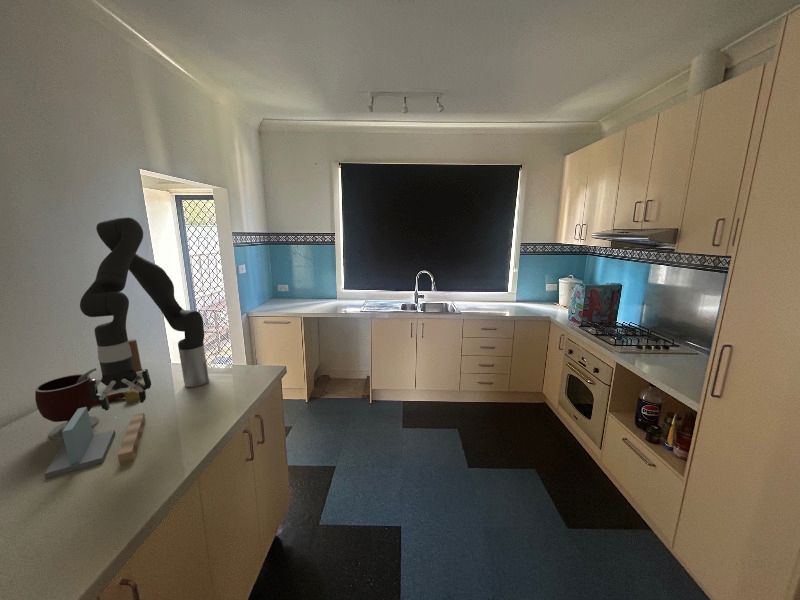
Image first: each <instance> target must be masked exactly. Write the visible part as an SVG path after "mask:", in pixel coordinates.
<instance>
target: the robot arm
mask: <svg viewBox="0 0 800 600" xmlns="http://www.w3.org/2000/svg"><path fill="white" fill-rule="evenodd" d="M96 232H97V233H96V234H97V235H98V237H99V238H100V239H101V241H102V242H103V244H104V245H105V246H106V247H107V248H108V249H109V250H110V252H109V254H108V255H107V256H106V257H105V258H104V259H103V260H102V262H101V263H100V265H99V267H98V269H97V273H96V276H95V280H94V281H93V283H92V284H91V285H90V286H89V287H88V289H87V290H86V291H85V292H84V293H83V295H82V296H81V299H80V302H79V307H80V308H79V309H80V311H81V312H82V314H83V315H84V316H86V317H89V318H96V317H97V318H99V317H111V316H113V317H112V321H110V322H105V323H102V324H99V325H97V326H95V328H94V336H95V341H96V345H97V359H98V362H99V365H100V372H101V376H102V377H99V378H96V377H92V378H91V380H90V381H89V390H90V398H91V399H92V400H94V399H99V400H100V402H101V403H100V405H101V409H102V410H104V411H109V410H110V409H111V407H110V401H108V397H106V395H109V393H110V392H111V391H112V390H114V391H116V390H121V389H127V388H128V387H130V388H131V387H132V388H133V389H136V390H137V391H139V403H140V404H143V403H144V402H145V401H146V399H147V394H146V393H147V392H146V390H149V389H150V388H151V386H152V381H151V378H150V373H149V370H148V369H147V368H144V369H143V371H139V372H136V371H135V369H134V364H133V359H132V353H131V348H130V345H129V342H128V340H129V337H128V333H127V332H128V331H127V317H128V312H129V307H130V299H129V298H128V296H127V295H126V293H123V292H122V291H124V289H125V287H126V284H127V283H126V282H127V279H128V273H129V272H130V273H131V274H132V275H133V277H134V278H135V279H136V281H137V283H138V284H139V285H140V286H141V288H143V290H144V291H145V292H146V293H147V295H148V296H149V298H150V299H151V301H153V302H154V304H155V305H156V307H158V309H159V310H160V311H161V313H162V314H163V317H164V319H165V320H166V321H167V323H168V325H169V326H170V328H172V329H173V330H175V331H176V332H182V333H183V332H184V338H183V339H181V340H179V341H178V342H177V347H178V353H179V360H180V366H181V372H182V377H183V383H184V387H185V388H196V387H201V386H203V385H206V384H209V383H210V380H209V379H210V376H209V370H208V364H207V359H206V353H205V346H204V344H205V343H204V340H205V328H204V320H203V316H202V314H201V313H200V312H199V311H196V310H188V309H184V308H183V307H182V306H181V305H180V304H179V303H178V302H177V300H176V297H175V285H174V283H173V281H172V279H171V277H170V276H169V275H168V274H167V272H166V271H165V270H164V268H162V266H159V265H158V264H156V263H154V262H153V261H150V260H148V259H146V258H144V257H143V256H141V255H139V254H137V252H138V250H139V248H140V246H141V244H142V242H143V239H144V230H143V227H142V225H141V224H140V222H138V220H137V219H135V218H133V217H130V216H124V217H118V218H113V219H112V218H111V219H108V220H104V221H100V222H99V223H97V224H96ZM137 376H140V379H143V383H144V384H145V385H142V384H140V383H139V382H140V381H139V380H137V378H136V377H137ZM100 383H102V385H105V386H106V387H105V388H104V390H103V391H102V393H99V389H98V386H99V385H101V384H100Z"/></svg>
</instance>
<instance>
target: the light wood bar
mask: <svg viewBox="0 0 800 600" xmlns="http://www.w3.org/2000/svg"><path fill="white" fill-rule="evenodd" d="M130 419H131V420H130V422H129V424H128V427H127V429H126V432H125V435H124V437H123V440H122V443H121V445H120V448H119V450H118V453H117V458H118V462H119V465H120V466H121V465H124V464H127V463H130V462H134V461H135V458H136V455H137V450H138V449H139V445H140V441H141V439H140V438H142V434H143V432H144V429H145V424H146V422H145V421H146V415H145V412H143V413H138V414H133V415H132V416H131V418H130ZM142 431H143V432H142Z"/></svg>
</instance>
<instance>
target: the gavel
mask: <svg viewBox="0 0 800 600" xmlns="http://www.w3.org/2000/svg"><path fill="white" fill-rule="evenodd" d="M139 383H140V384H142V385H145V383H144V382H142V381H139ZM106 397H108V401H109V402H113V401H118V400H120V399H123V398H124V400H125V401H126V402H127V403H133V402H137V401H138V400H140V398H139V391H137V390H136V389H133V388H132V387H130V388H129V390H126V391H120V392H115V393H111V394H107V395H106ZM96 405H101V402H100V400H99V399H96V400H95V404H94V405H93V406H96Z"/></svg>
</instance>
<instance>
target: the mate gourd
mask: <svg viewBox="0 0 800 600" xmlns="http://www.w3.org/2000/svg"><path fill="white" fill-rule="evenodd" d="M95 371H97V368H96V367H94V368H92V369H90V370H89V371H87V372H85V373H77V374H69V375H65V376H61V377H57V378H53V379H50V380H47V381H45V382H43V383H41V384H39V385H37V386H36V387H35V388H34V390H35V391H34V392H35V393H34V395H35V396H34V398H35V404H36V407H37V410H38V411H39V413H40V415H41V416H42V417H43V419H45V420H48V421H50V422H55V423H59V422H63V423H60V424H58V425H57V426H55V427H54V428H52V429H51V430H50V431H49V433H48V436H49V438H50V439H52V440H62V439H63V440H64V438H63V434H62V431H63V429H64V428H65V427H66V425H67V424H68V422H69V421H70V420H71V418H72V417H73V415H74V414H75V412H76V411H77V410H78V409H79V408H83V407H87V410H88V413H89V412H90V411H91V409H92V408H93V406H95V405H94V404H95V400H96V399H94V400H92V399H91V398H90V390H89V381H90V380H91V379H92V378H91V375H90V374H92V373H93V372H95ZM89 418H90V423H91V427H92V429H93V428H94V427H96V426H97V425H98V424H99V421H100V419H99V417H97V416H92V415H91V416H90V415H89Z"/></svg>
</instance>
